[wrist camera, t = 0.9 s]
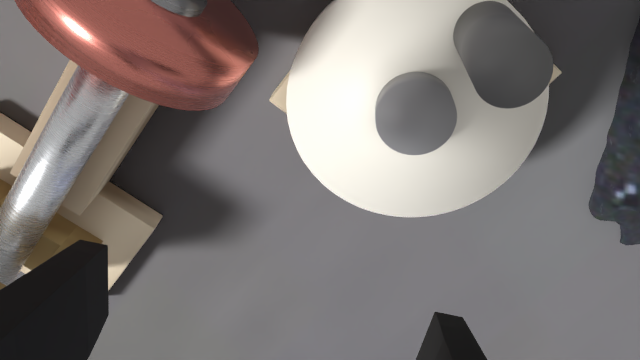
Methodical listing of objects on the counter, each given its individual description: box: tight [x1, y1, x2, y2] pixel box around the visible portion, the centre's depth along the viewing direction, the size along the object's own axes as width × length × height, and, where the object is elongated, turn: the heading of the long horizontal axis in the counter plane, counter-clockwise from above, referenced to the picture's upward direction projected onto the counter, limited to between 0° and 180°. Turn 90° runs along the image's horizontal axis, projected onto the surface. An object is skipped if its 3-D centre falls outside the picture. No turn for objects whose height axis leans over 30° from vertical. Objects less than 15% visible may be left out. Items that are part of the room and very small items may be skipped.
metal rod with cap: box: [0, 0, 258, 286], centre depth 18 cm, size 6×15×6 cm, turn 143°
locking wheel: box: [286, 0, 553, 217], centre depth 16 cm, size 8×8×4 cm
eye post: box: [0, 60, 163, 291], centre depth 19 cm, size 8×12×6 cm, turn 143°
